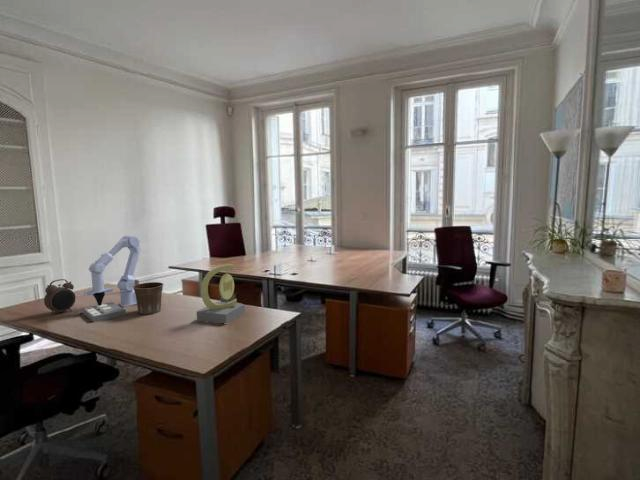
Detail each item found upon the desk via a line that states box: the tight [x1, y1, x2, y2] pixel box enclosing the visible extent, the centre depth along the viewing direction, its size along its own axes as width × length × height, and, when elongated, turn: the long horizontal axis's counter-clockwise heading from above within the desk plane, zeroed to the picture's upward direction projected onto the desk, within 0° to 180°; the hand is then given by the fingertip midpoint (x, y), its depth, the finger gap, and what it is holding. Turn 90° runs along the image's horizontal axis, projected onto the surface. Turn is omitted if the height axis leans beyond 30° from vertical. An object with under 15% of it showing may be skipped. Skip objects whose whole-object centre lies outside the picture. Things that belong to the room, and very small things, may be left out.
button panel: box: [81, 301, 127, 323], centre depth 201 cm, size 16×24×3 cm, turn 47°
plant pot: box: [133, 281, 164, 315], centre depth 205 cm, size 16×16×16 cm
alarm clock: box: [43, 278, 77, 316], centre depth 204 cm, size 14×7×20 cm, turn 151°
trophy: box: [196, 264, 246, 324], centre depth 192 cm, size 19×19×30 cm
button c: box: [102, 307, 112, 313], centre depth 197 cm, size 4×4×3 cm
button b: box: [99, 303, 108, 311], centre depth 201 cm, size 4×4×3 cm
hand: (99, 305), depth 206 cm, fingers closed, pressing on button a
